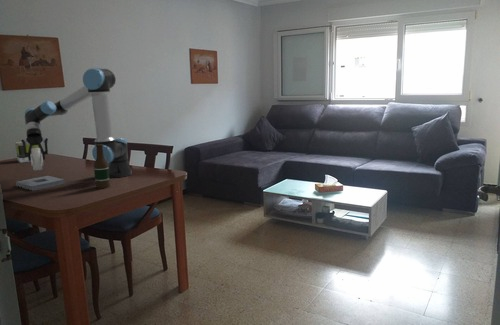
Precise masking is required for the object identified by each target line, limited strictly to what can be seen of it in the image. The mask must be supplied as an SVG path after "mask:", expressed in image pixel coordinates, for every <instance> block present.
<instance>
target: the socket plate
mask: <svg viewBox="0 0 500 325" xmlns="http://www.w3.org/2000/svg"><path fill="white" fill-rule="evenodd" d="M15 183H16V185H15V186H16V187H18V186H19V188H21V187H22V189H25V190H28V189H29V191H31V190H32V191H33V190H34V191H37V190H38V191H39V190H43V189H46V188H52V187H55V186H61V185H65V184H66V183H65V179H64V178H59V177H55V176H51V175H45V176H39V177H33V178H29V179H23V180H19V181H15Z"/></svg>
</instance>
